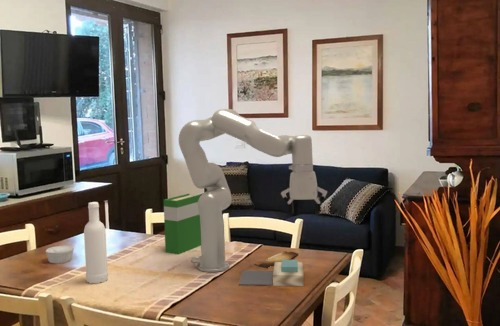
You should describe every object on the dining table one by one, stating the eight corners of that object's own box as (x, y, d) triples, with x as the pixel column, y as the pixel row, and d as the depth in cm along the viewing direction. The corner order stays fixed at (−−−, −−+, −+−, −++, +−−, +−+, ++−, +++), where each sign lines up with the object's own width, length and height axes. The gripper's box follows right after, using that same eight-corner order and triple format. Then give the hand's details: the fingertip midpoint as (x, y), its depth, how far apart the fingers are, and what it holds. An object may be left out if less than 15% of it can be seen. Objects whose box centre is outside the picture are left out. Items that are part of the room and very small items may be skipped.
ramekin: (40, 263, 226) (39, 251, 226) (59, 256, 237) (58, 244, 236) (61, 265, 222) (60, 253, 222) (79, 258, 233) (78, 246, 232)
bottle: (85, 278, 205) (81, 201, 201) (106, 275, 208) (102, 200, 204) (87, 285, 197) (83, 205, 194) (109, 282, 200) (105, 203, 197)
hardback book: (189, 243, 254) (187, 193, 252) (202, 245, 251) (200, 194, 248) (165, 252, 239) (163, 199, 237) (178, 254, 235) (176, 201, 233)
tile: (281, 272, 196) (281, 266, 196) (282, 264, 205) (282, 259, 205) (297, 272, 195) (297, 267, 195) (297, 264, 204) (297, 259, 204)
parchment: (284, 251, 238) (284, 249, 238) (303, 254, 232) (303, 252, 232) (252, 266, 218) (252, 264, 218) (272, 270, 212) (272, 268, 212)
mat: (238, 285, 194) (238, 284, 194) (243, 271, 210) (243, 270, 210) (271, 285, 193) (271, 284, 193) (273, 271, 209) (273, 270, 209)
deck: (272, 285, 193) (272, 275, 193) (274, 271, 209) (274, 261, 208) (303, 286, 192) (303, 275, 192) (302, 272, 208) (302, 262, 208)
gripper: (278, 170, 196) (280, 216, 198) (325, 169, 192) (327, 215, 194) (281, 168, 204) (283, 212, 205) (327, 166, 199) (329, 211, 201)
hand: (304, 213), depth 200 cm, fingers open, 9 cm apart
